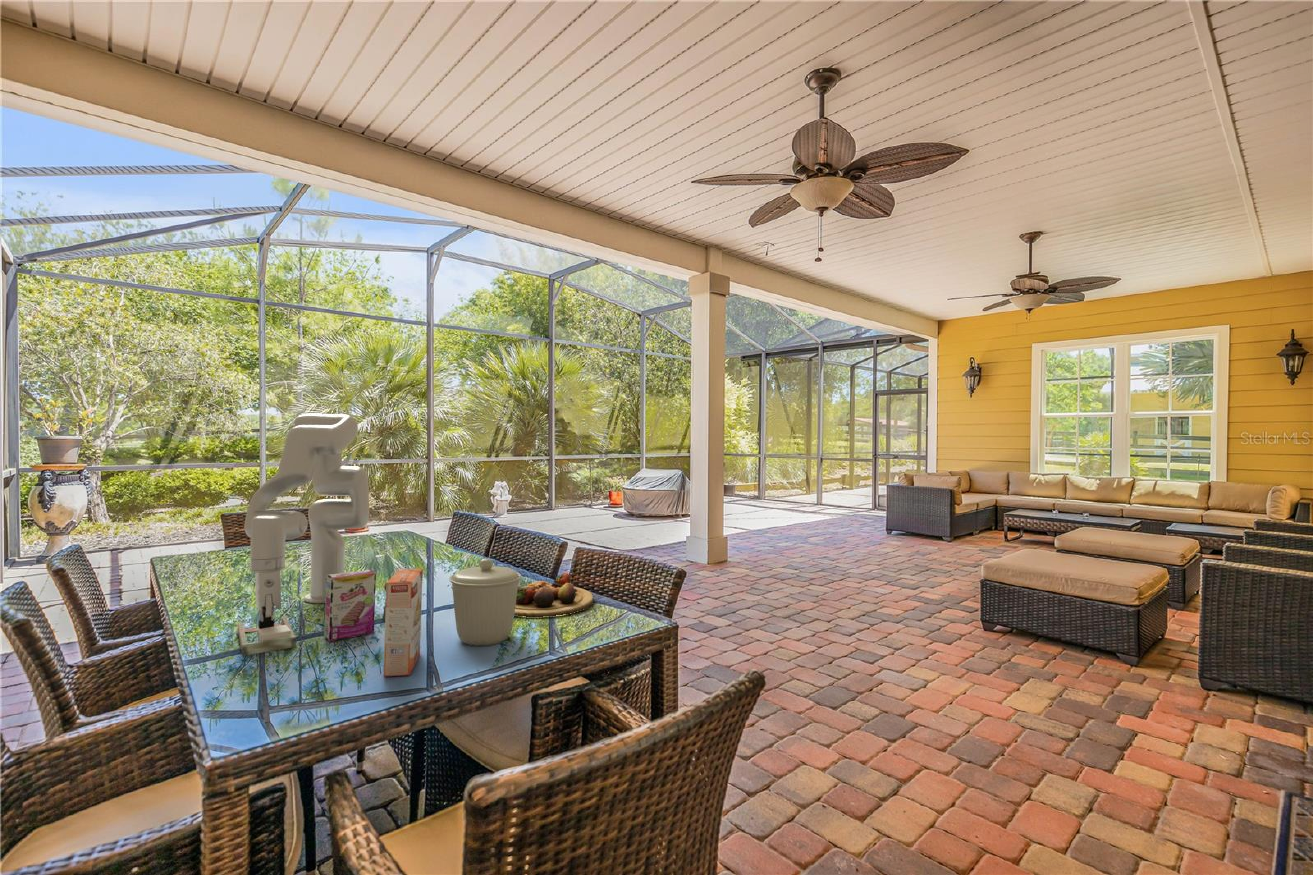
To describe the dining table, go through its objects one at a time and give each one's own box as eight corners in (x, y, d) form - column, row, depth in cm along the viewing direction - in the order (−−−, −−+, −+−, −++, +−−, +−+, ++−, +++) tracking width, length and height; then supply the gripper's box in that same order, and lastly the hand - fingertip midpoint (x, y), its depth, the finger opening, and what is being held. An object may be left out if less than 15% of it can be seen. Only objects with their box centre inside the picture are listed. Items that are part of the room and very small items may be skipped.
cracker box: (411, 676, 134) (413, 581, 134) (382, 678, 133) (384, 582, 133) (422, 654, 148) (423, 567, 148) (395, 655, 147) (397, 568, 147)
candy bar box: (329, 642, 154) (331, 578, 154) (323, 638, 158) (324, 574, 158) (375, 633, 162) (376, 571, 162) (368, 629, 166) (369, 568, 166)
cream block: (285, 640, 156) (285, 624, 156) (290, 646, 152) (290, 630, 152) (257, 645, 152) (258, 629, 152) (261, 652, 148) (262, 635, 148)
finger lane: (285, 623, 170) (285, 614, 170) (295, 646, 151) (296, 636, 151) (237, 629, 163) (237, 620, 163) (242, 655, 145) (242, 645, 144)
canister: (496, 655, 148) (498, 568, 148) (433, 646, 153) (434, 562, 153) (532, 632, 165) (534, 555, 165) (474, 625, 171) (476, 550, 171)
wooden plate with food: (545, 586, 217) (545, 563, 216) (614, 601, 198) (614, 576, 198) (469, 608, 191) (469, 582, 191) (540, 627, 172) (540, 598, 172)
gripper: (288, 567, 152) (286, 641, 152) (281, 557, 164) (280, 625, 164) (252, 571, 147) (250, 647, 147) (248, 560, 159) (246, 630, 159)
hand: (266, 635), depth 156 cm, fingers closed
